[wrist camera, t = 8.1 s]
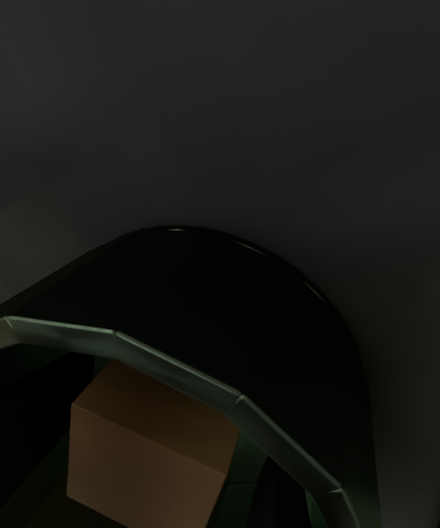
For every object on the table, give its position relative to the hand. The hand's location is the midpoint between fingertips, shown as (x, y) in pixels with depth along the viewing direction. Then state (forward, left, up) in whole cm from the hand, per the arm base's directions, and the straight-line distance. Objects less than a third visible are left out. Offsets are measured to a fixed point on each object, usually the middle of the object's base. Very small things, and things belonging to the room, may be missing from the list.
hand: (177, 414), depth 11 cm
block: (0, 0, -2) cm, 2 cm away
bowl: (0, 0, -2) cm, 2 cm away
